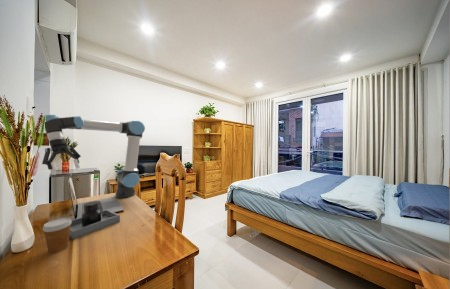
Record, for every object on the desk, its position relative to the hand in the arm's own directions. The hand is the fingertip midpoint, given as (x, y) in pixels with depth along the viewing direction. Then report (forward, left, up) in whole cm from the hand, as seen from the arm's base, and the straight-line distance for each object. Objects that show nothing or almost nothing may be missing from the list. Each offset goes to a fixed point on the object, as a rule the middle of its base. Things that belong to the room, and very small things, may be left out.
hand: (66, 171), depth 113 cm
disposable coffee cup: (+15, +42, -29) cm, 53 cm away
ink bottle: (-2, +31, -28) cm, 42 cm away
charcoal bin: (-2, +31, -28) cm, 42 cm away
